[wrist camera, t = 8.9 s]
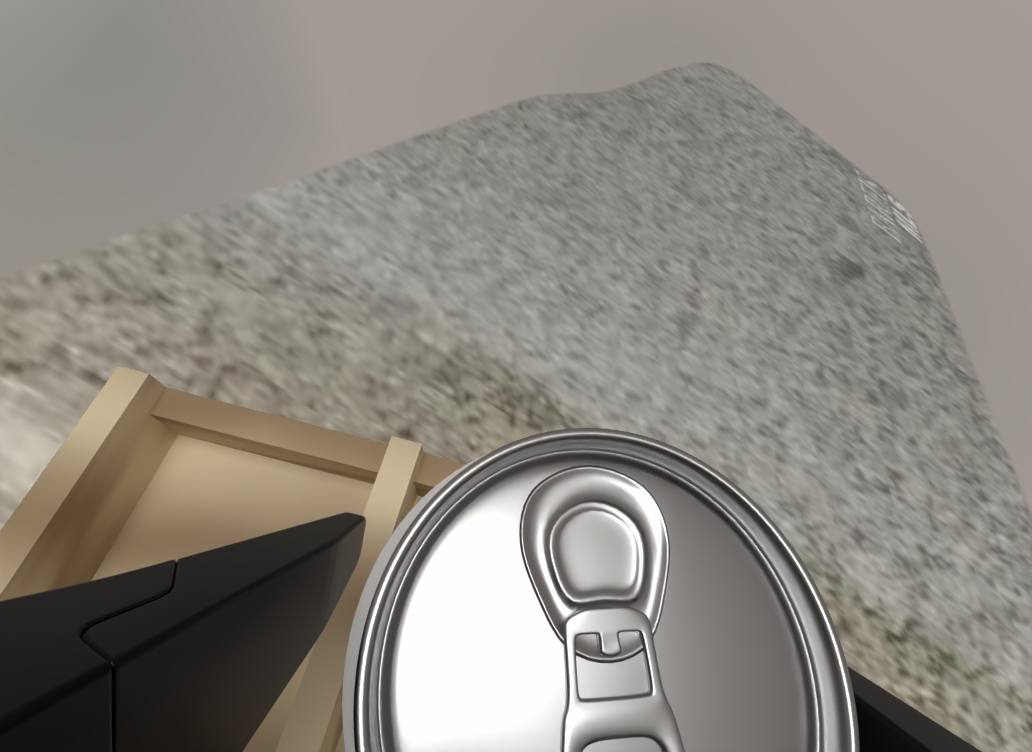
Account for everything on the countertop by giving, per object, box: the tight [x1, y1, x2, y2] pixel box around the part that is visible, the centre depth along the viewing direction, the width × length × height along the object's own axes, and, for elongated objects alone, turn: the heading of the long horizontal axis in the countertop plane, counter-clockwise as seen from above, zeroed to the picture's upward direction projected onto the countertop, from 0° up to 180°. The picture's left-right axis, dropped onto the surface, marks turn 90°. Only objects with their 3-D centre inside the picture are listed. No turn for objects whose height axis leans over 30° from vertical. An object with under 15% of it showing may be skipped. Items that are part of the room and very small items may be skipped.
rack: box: [0, 366, 466, 752], centre depth 15 cm, size 10×19×4 cm, turn 77°
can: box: [342, 428, 860, 752], centre depth 11 cm, size 6×6×12 cm
